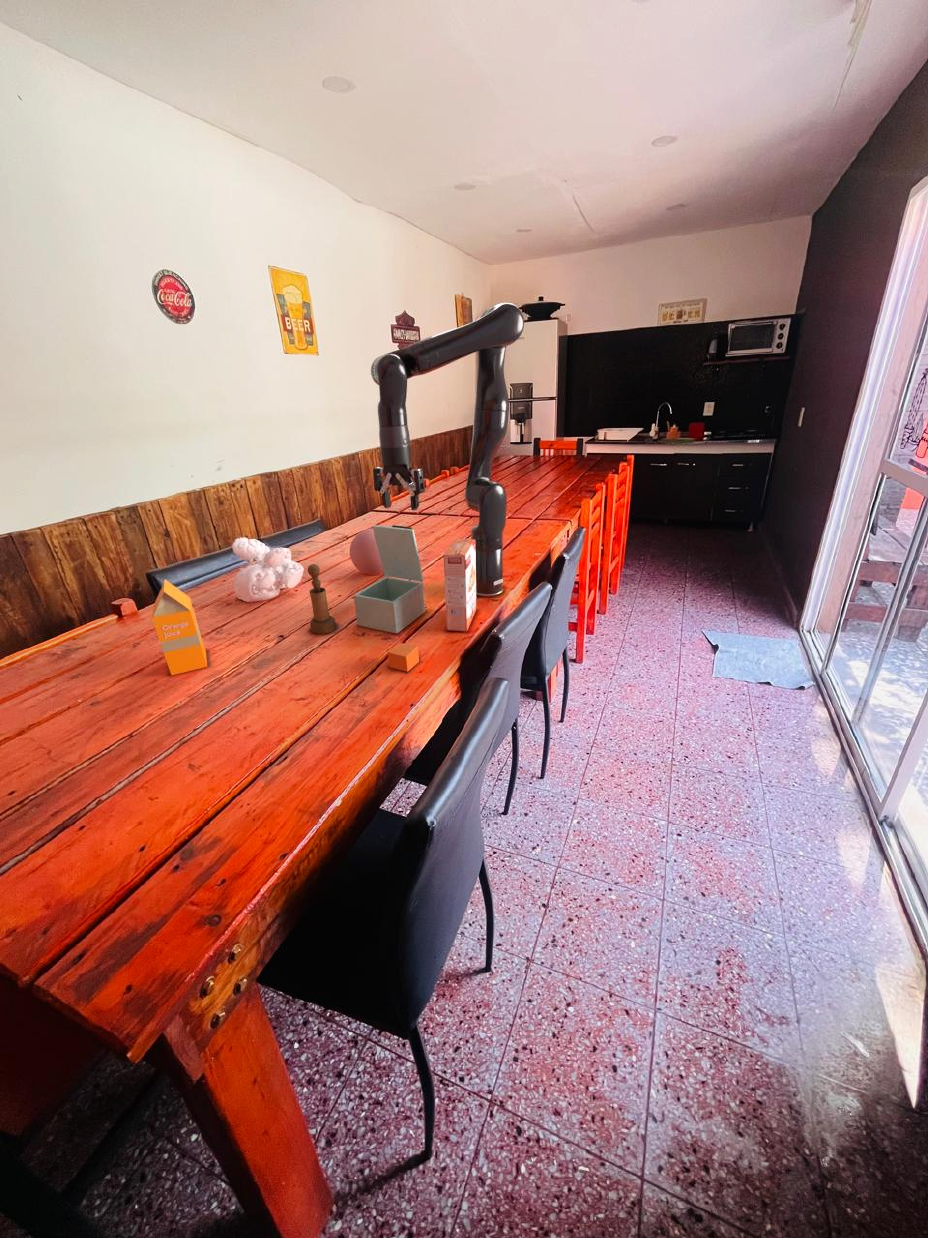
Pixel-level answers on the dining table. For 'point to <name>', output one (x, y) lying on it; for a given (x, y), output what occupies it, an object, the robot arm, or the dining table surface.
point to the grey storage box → (390, 604)
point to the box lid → (398, 552)
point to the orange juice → (178, 630)
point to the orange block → (403, 657)
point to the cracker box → (460, 584)
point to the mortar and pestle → (319, 605)
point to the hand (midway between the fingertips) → (401, 508)
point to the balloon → (366, 553)
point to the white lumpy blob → (264, 570)
